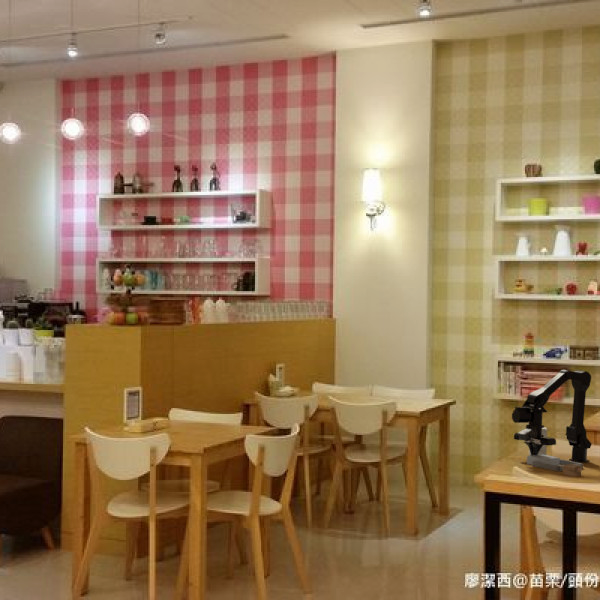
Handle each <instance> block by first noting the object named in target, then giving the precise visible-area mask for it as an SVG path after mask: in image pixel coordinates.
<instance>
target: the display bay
mask: <svg viewBox="0 0 600 600" xmlns="http://www.w3.org/2000/svg"><path fill="white" fill-rule="evenodd" d="M566 464H574V465H579V466H581V470H583V469H584V463H583V462H577V461H572V460H566V459H561V458H560V461H559V466H556V465H551V464H546V463H541V462H536V461H533V462H532V465H531V466H532V467H534V468H535V467H536V468H538V469H539V468H540V469H545V470H549V471H552V472H553V471H554V472H557V473H558V472H563V465H566Z"/></svg>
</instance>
